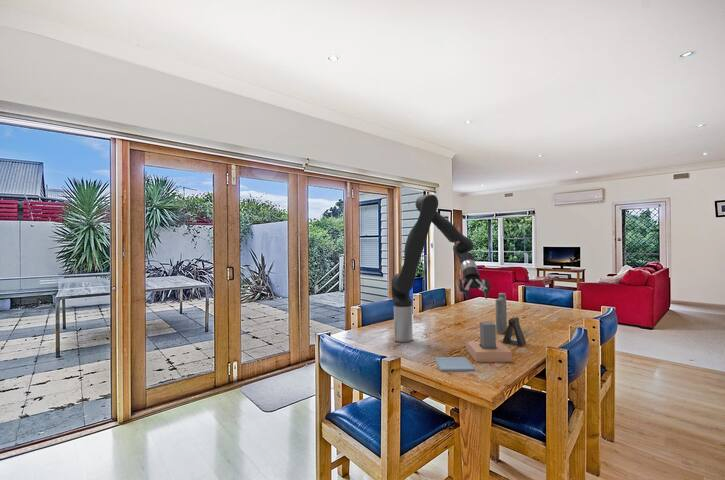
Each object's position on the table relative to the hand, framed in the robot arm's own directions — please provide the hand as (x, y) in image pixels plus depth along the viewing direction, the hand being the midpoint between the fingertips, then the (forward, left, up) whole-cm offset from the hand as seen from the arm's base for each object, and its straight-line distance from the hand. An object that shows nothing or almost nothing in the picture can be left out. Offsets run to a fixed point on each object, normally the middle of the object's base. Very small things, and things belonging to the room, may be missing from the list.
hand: (477, 297), depth 160 cm
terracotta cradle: (0, -13, -22) cm, 26 cm away
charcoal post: (0, -13, -22) cm, 26 cm away
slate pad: (-17, -23, -22) cm, 37 cm away
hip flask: (+21, +27, -23) cm, 41 cm away
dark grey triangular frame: (+18, +4, -23) cm, 29 cm away
